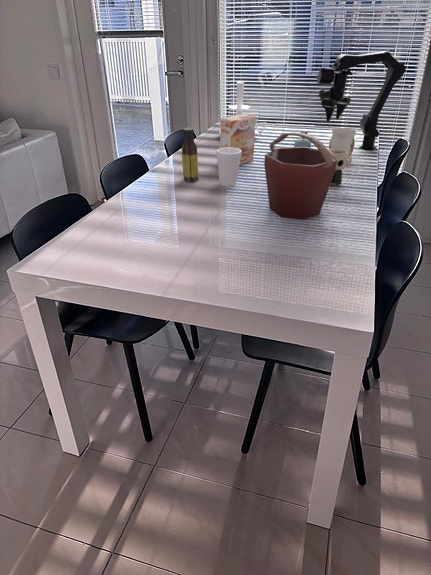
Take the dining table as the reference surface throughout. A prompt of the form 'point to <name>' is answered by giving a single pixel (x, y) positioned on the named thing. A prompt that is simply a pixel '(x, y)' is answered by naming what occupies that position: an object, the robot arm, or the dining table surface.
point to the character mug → (339, 164)
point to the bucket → (298, 178)
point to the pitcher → (343, 140)
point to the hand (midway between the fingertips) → (332, 120)
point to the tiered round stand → (302, 143)
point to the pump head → (304, 132)
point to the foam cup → (228, 165)
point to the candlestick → (241, 107)
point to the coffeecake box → (239, 135)
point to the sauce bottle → (189, 156)
